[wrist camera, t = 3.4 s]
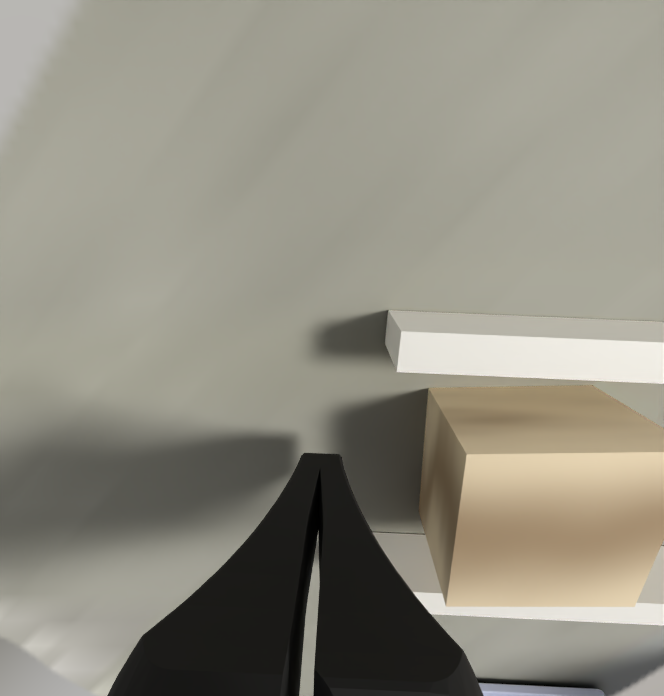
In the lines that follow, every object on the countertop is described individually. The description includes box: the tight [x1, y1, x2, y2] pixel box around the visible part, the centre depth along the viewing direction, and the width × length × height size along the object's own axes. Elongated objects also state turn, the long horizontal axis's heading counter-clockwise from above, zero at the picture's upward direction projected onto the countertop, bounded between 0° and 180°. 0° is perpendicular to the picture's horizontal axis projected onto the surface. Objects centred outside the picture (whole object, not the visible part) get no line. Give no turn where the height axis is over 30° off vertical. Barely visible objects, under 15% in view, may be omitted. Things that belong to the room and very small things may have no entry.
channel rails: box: [372, 310, 664, 625], centre depth 12 cm, size 11×16×2 cm
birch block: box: [419, 385, 664, 607], centre depth 11 cm, size 6×6×4 cm
